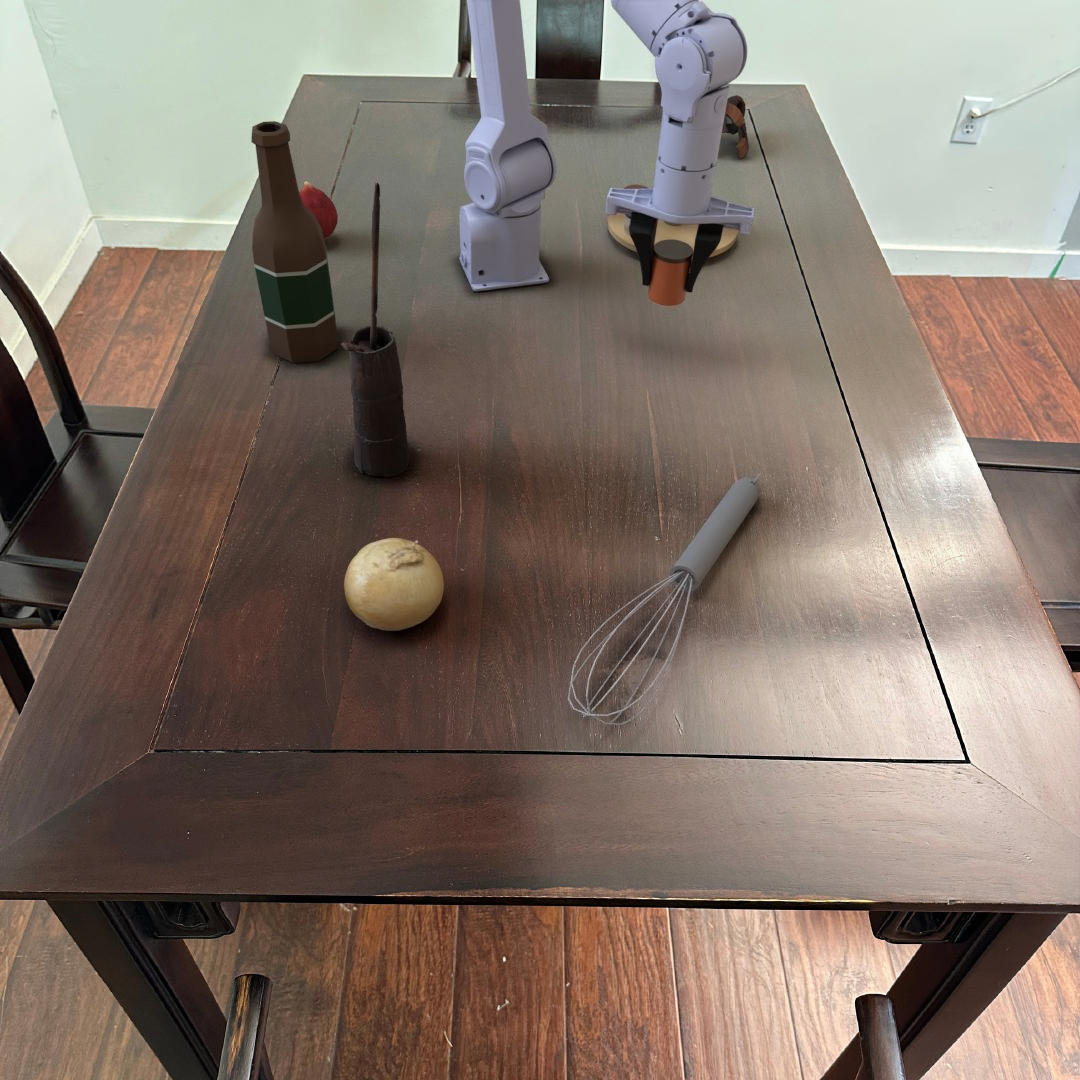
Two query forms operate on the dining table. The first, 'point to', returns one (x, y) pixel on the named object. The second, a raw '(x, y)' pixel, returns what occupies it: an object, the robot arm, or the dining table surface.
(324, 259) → the beer bottle
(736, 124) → the brown curled loops
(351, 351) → the butter churn
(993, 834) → the dining table surface
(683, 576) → the kitchen whisk
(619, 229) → the spice carousel
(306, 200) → the onion
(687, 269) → the spice jar
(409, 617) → the onion
